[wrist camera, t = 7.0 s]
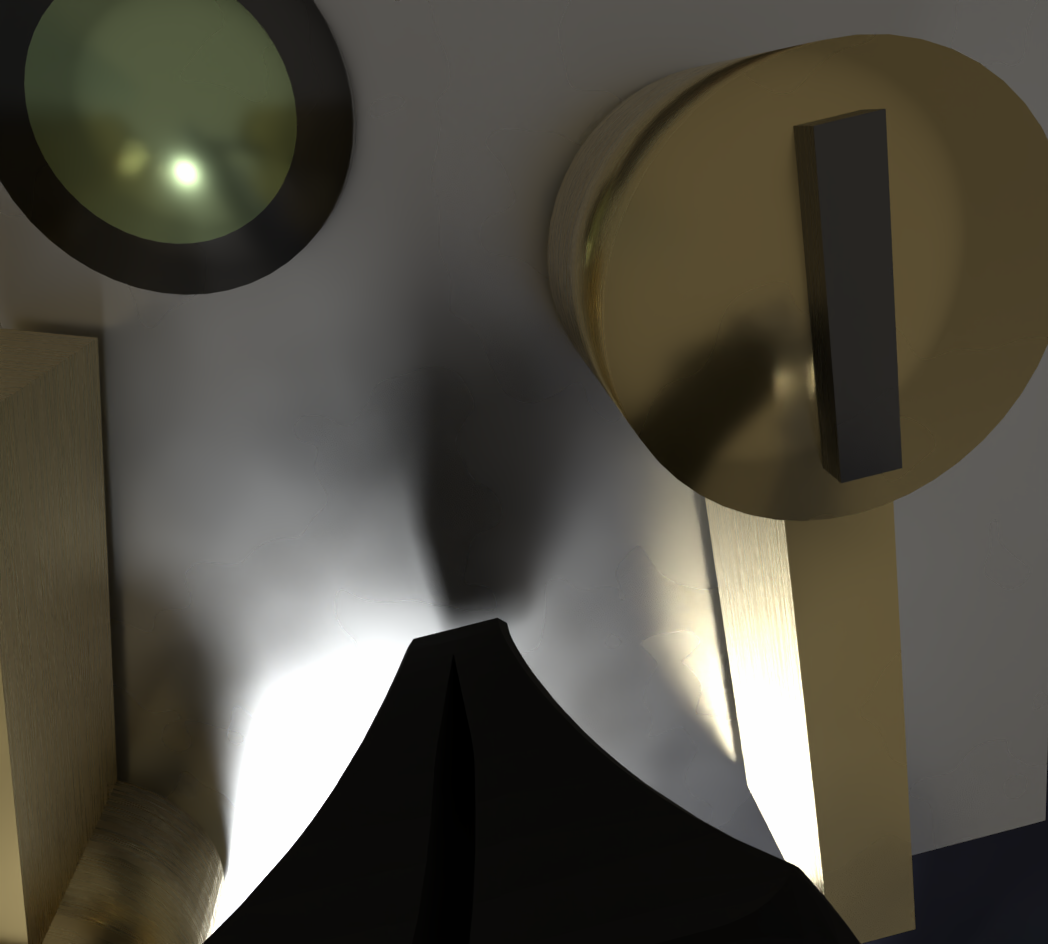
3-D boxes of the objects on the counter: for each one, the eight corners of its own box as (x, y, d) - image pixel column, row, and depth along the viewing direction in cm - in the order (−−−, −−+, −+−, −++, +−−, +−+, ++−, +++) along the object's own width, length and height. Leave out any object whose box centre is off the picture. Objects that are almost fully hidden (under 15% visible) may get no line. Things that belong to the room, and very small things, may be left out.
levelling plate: (1005, 776, 17) (1248, 1044, 12) (27, 1030, 17) (-139, 1420, 12) (1011, -258, 11) (1541, -599, 6) (-591, 109, 10) (-1580, 92, 5)
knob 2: (513, 109, 10) (568, 100, 7) (867, 26, 10) (1115, -29, 7) (656, 809, 15) (737, 1039, 11) (904, 744, 15) (1069, 950, 11)
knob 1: (223, 980, 15) (159, 1260, 11) (-53, 983, 14) (-218, 1283, 11) (231, 351, 11) (137, 466, 7) (-152, 313, 10) (-469, 418, 7)
